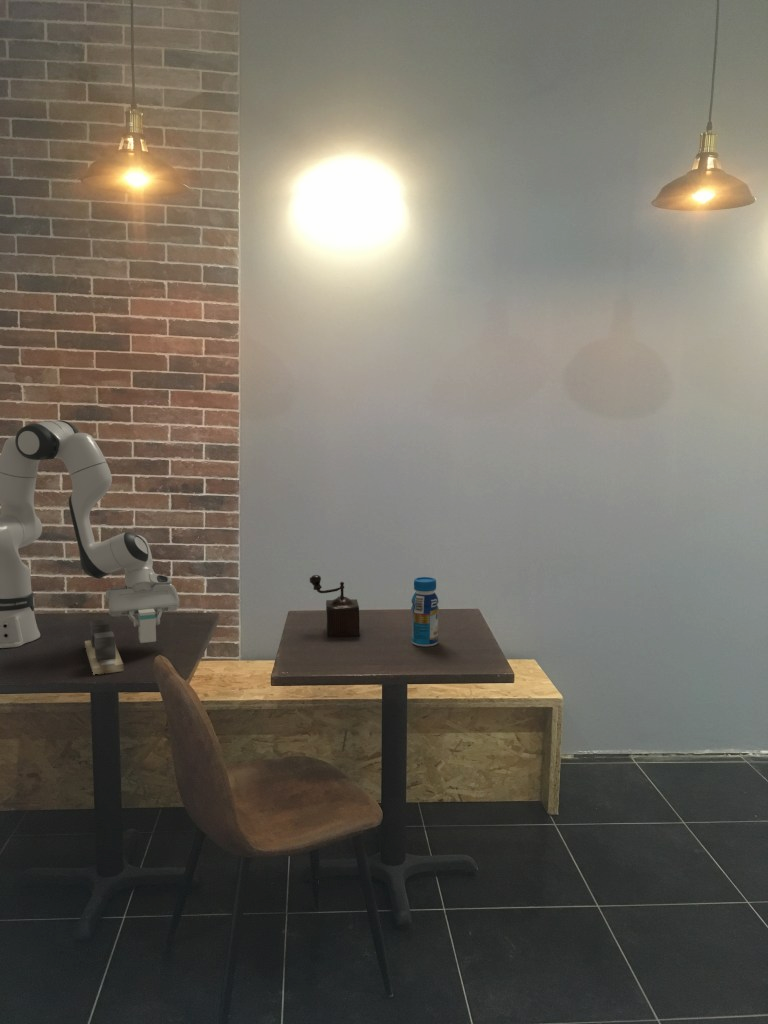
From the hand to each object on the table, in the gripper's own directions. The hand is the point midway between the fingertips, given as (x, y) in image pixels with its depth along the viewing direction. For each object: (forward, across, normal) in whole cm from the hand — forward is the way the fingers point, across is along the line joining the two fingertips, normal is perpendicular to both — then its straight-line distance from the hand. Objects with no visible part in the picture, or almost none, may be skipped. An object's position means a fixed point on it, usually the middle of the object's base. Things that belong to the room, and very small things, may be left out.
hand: (147, 624), depth 242 cm
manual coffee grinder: (+8, +58, +3) cm, 58 cm away
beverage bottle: (+24, +78, -13) cm, 83 cm away
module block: (+3, 0, +4) cm, 5 cm away
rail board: (+6, -12, +6) cm, 15 cm away
